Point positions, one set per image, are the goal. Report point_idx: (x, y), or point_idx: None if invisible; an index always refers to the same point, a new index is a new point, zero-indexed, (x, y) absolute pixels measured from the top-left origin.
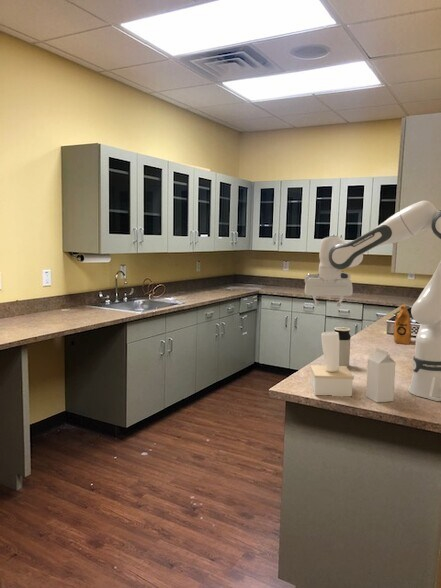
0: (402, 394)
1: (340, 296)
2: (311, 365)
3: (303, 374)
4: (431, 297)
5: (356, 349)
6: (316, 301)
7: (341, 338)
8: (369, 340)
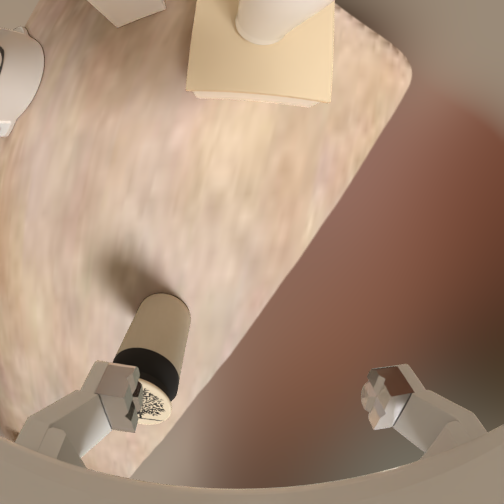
0: (64, 50)
1: (62, 458)
2: (326, 98)
3: (308, 212)
4: None
5: (115, 434)
6: (418, 393)
7: (147, 353)
8: (95, 470)
